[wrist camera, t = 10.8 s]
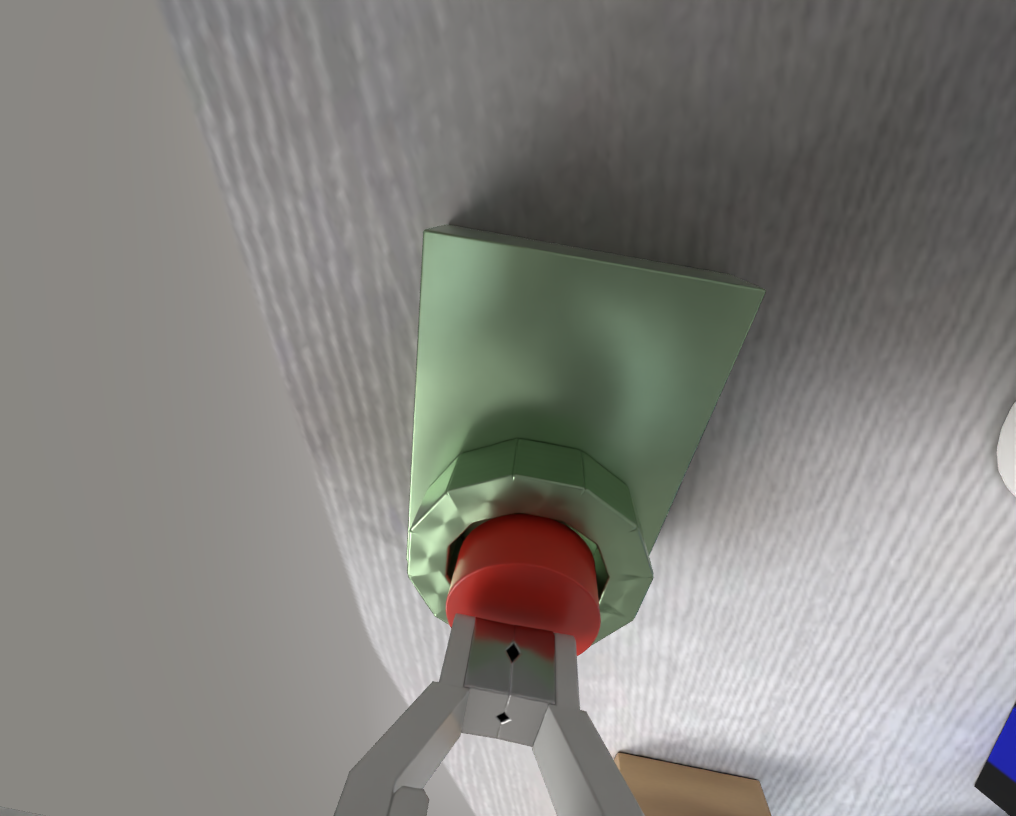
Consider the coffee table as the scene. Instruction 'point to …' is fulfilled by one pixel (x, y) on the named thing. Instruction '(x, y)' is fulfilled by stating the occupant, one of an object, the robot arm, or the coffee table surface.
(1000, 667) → the coffee table surface
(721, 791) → the panel
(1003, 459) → the bottle
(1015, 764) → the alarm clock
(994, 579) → the coffee table surface
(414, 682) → the coffee table surface
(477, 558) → the lamp button
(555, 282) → the green lamp base
